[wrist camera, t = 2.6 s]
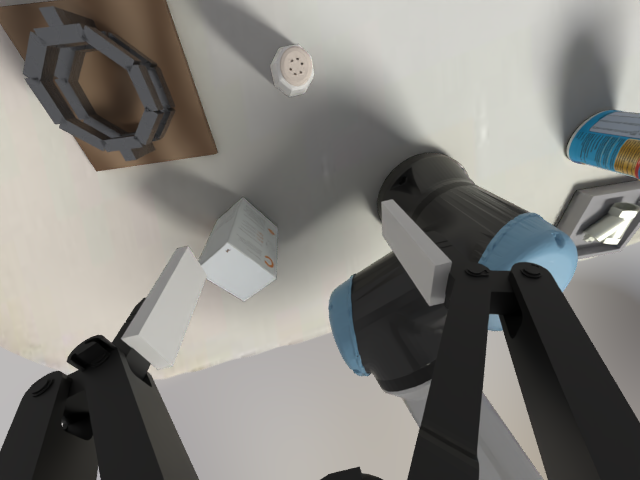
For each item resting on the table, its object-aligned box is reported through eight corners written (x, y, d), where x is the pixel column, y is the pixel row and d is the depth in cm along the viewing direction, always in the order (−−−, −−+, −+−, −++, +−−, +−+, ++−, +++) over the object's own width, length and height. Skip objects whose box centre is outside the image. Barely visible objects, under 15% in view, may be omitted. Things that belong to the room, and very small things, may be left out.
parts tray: (652, 177, 46) (673, 183, 44) (605, 244, 55) (621, 251, 52) (576, 190, 45) (593, 196, 43) (541, 255, 54) (553, 263, 52)
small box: (216, 219, 39) (191, 271, 28) (243, 195, 37) (226, 240, 26) (253, 248, 43) (244, 303, 32) (279, 227, 41) (278, 278, 30)
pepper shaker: (272, 37, 27) (267, 14, 18) (317, 52, 29) (334, 36, 19) (267, 91, 30) (261, 94, 21) (308, 102, 31) (319, 109, 22)
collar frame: (139, 14, 24) (109, -1, 20) (190, 144, 31) (176, 153, 27) (33, 26, 24) (-20, 14, 20) (110, 156, 31) (84, 167, 27)
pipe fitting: (573, 239, 52) (605, 232, 52) (590, 249, 49) (625, 243, 48) (588, 207, 48) (624, 200, 47) (609, 216, 44) (647, 209, 44)
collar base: (163, -8, 24) (159, -11, 23) (217, 152, 33) (216, 154, 32) (0, 10, 23) (-10, 7, 23) (101, 169, 32) (96, 171, 32)
